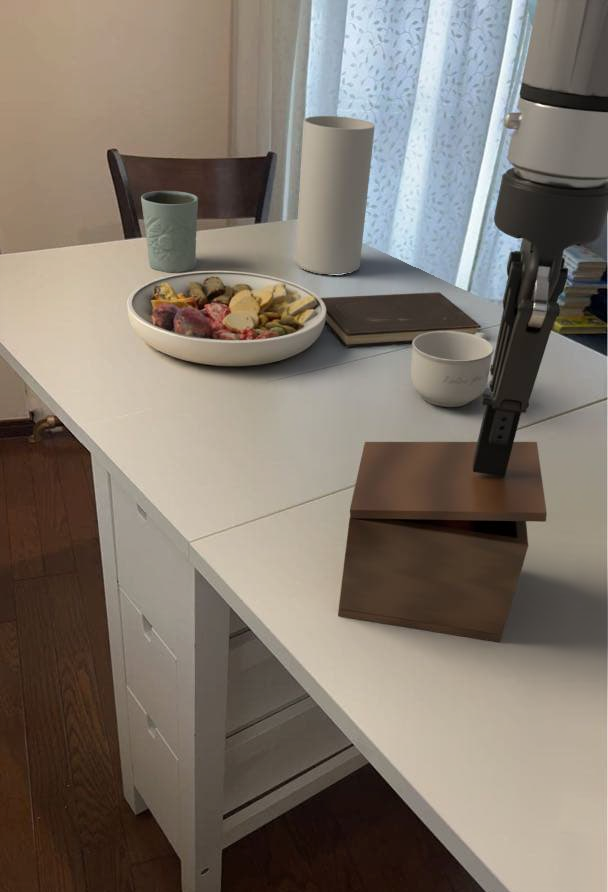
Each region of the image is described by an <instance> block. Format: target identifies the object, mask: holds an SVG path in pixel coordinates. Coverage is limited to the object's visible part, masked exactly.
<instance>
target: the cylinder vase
mask: <svg viewBox="0 0 608 892" xmlns="http://www.w3.org/2000/svg"><path fill="white" fill-rule="evenodd" d="M302 123H303V124H302V139H301V140H302V141H301V158H300V174H299V175H300V176H299V192H298V194H299V195H298V207H297V208H298V209H297V226H296V240H295V241H296V243H295V244H296V245H295V263H296V265H297V267H299V268H300V269H301V270H303V269H304V270H303V271H305V270H307V271H306V272H308V271H310V272H309V273H311V272H314V273H313V274H315V273H320V274H319V275H321V274H342V273H349V272H353V271H355V270H356V271H357V270H359V268H360V266H361V259H362V251H363V241H364V230H365V222H366V221H365V220H366V212H367V202H368V194H369V185H370V184H369V183H370V177H371V175H370V174H371V166H372V155H373V147H374V146H373V145H374V137H375V130H376V129H375V128H376V125H375V123H373V122H371V121H368V120H365V119H360V118H355V117H349V116H338V115H337V116H335V115H313V116H308V117H305V118H303V122H302ZM356 271H355V272H356ZM353 273H354V272H353Z"/></svg>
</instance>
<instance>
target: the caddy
mask: <svg viewBox="0 0 608 892" xmlns="http://www.w3.org/2000/svg"><path fill="white" fill-rule="evenodd" d="M421 520H422V519H377V518H350V517H349V518H348V526H347V527H348V528H347V534H346V536H347V537H346V545H345V553H344V561H343V569H342V577H341V585H340V593H339V594H340V595H339V603H338V609H337V616H338V617H342V618H343V617H344V618H350V619H354V620H361V621H368V622H373V623H379V624H384V625H385V624H386V625H392V626H399V627H403V628H404V627H405V628H411V629H416V630H423V631H429V632H435V633H442V634H447V635H453V636H459V637H466V638H471V639H478V640H483V641H489V642H496V643H501V642H502V638H503V634H504V631H505V628H506V624H507V621H508V617H509V614H510V611H511V607H512V604H513V602H514V601H513V600H514V597H515V593H516V590H517V587H518V583H519V580H520V576H521V573H522V571H523V570H522V569H523V566H524V562H525V560H526V555H527V552H528V549H529V536H528V526H527V521H485V520H471V521H472V522H473V524H474V527H475V530H476V532H473V531H466V530H460V529H453V528H446V527H440V526H433V525H426V524H419V523H420V521H421Z"/></svg>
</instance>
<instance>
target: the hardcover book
mask: <svg viewBox="0 0 608 892" xmlns="http://www.w3.org/2000/svg"><path fill="white" fill-rule="evenodd" d="M320 298H321V300H322V301H323V302H324V304H325V306H326V320H325V324H324V325H326V327H327V328H328V329H329V330H330V331H331V332H332V334H333V336H335V337H336V338H337V340H338V341H339V342H340V343H341V345H343V347H344V348H345V349H348V348H350V349H351V348H362V347H363V348H365V347H379V346H380V347H381V346H392V344H395V345H409V344H408V343H410V344H412V342H413V340H414V338H416V337H417V336H419V335H421V334H424V333H428V332H434V331H457V332H464V333H469V334H473V335H475V334H476V333H478V332H479V331H478V329H480V328H481V327H482V325H481V324H479V323H478V322H477V321H475V320H474V319H473V318H472V317H471V316H469V315H468V314H467V313H466V312H464V311H463V310H462V309H460V307H458V306H457V305H456V304H455V303H454V302H452V301H451V300H450V299H449V298H448V297H446V296H445V295H444V294H442V293H441V292H440V291H439V292H438V291H437V292H435V291H434V292H416V293H415V292H414V293H413V292H412V293H396V294H395V293H393V294H392V293H391V294H373V295H372V294H371V295H369V294H368V295H350V296H329V297H328V296H327V297H320Z"/></svg>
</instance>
